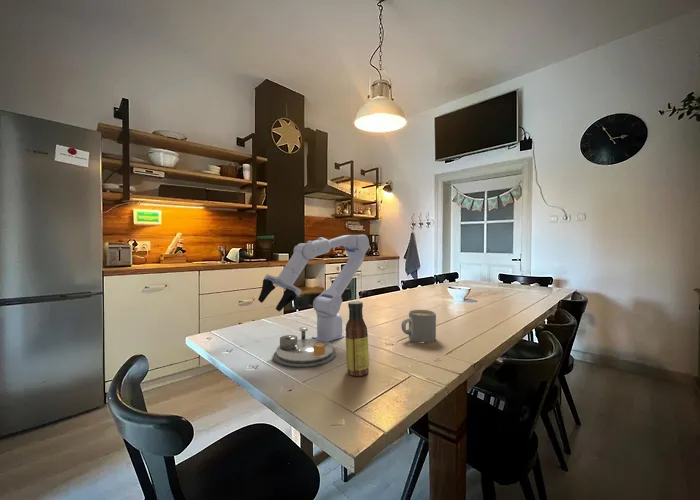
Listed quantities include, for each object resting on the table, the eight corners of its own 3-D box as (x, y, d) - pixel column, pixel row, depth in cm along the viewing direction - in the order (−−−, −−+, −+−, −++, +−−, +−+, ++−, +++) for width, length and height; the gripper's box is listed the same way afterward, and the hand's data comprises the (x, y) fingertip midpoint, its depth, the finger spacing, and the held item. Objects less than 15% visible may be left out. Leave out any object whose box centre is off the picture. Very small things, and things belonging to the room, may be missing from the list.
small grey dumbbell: (304, 340, 114) (304, 326, 114) (309, 342, 112) (309, 328, 112) (297, 342, 112) (297, 328, 112) (302, 344, 109) (302, 330, 109)
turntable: (311, 339, 112) (311, 328, 112) (344, 352, 99) (344, 339, 99) (266, 351, 100) (266, 338, 100) (297, 368, 87) (296, 353, 87)
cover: (291, 343, 104) (291, 332, 104) (300, 347, 100) (300, 336, 100) (276, 347, 100) (276, 336, 100) (285, 351, 96) (285, 340, 96)
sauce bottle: (371, 369, 88) (371, 300, 88) (365, 379, 82) (365, 305, 82) (349, 366, 90) (349, 299, 90) (342, 375, 84) (342, 303, 84)
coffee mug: (429, 334, 122) (430, 309, 122) (439, 342, 112) (440, 315, 112) (397, 335, 121) (397, 310, 121) (404, 343, 111) (404, 316, 111)
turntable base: (312, 341, 114) (312, 339, 114) (348, 355, 99) (348, 353, 99) (262, 354, 100) (262, 352, 100) (296, 373, 86) (296, 371, 85)
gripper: (270, 259, 106) (246, 292, 100) (304, 273, 100) (280, 309, 94) (278, 269, 112) (256, 301, 106) (310, 283, 106) (289, 317, 100)
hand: (268, 305), depth 101 cm, fingers open, 7 cm apart
